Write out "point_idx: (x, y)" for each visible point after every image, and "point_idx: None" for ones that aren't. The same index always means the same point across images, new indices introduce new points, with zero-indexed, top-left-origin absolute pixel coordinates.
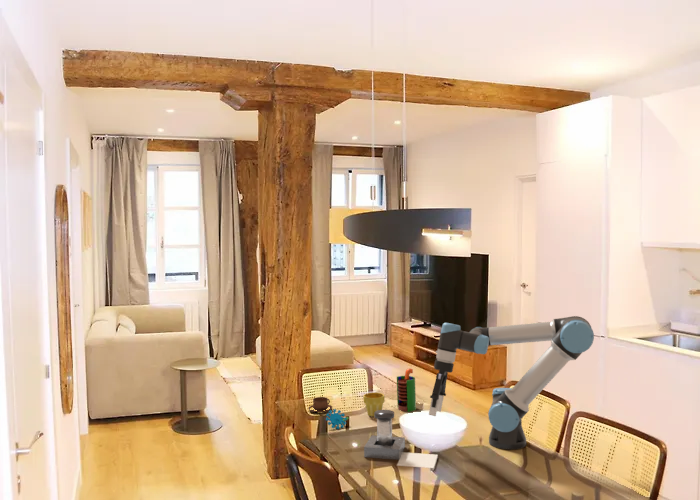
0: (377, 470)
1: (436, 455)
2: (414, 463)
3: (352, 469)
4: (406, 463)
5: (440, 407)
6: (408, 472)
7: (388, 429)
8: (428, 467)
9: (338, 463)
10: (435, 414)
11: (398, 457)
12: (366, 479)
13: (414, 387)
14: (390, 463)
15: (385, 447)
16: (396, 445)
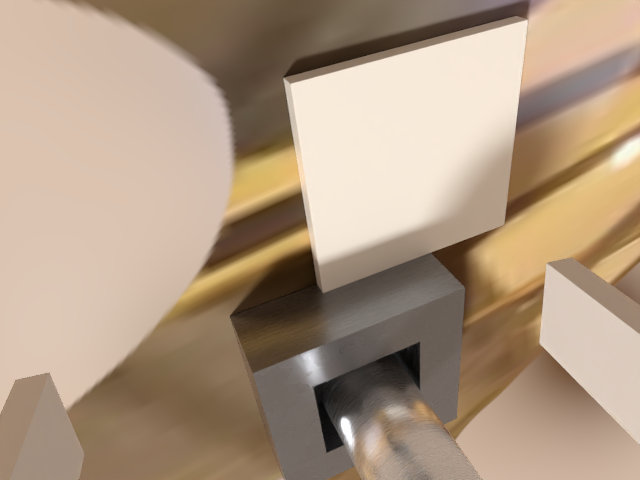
0: (525, 270)
1: (310, 85)
2: (470, 159)
3: (521, 344)
4: (476, 196)
5: (35, 438)
6: (541, 143)
7: (450, 442)
8: (519, 57)
9: (473, 408)
10: (589, 272)
11: (436, 263)
12: (606, 256)
13: None
14: None
15: (448, 353)
16: (408, 330)
